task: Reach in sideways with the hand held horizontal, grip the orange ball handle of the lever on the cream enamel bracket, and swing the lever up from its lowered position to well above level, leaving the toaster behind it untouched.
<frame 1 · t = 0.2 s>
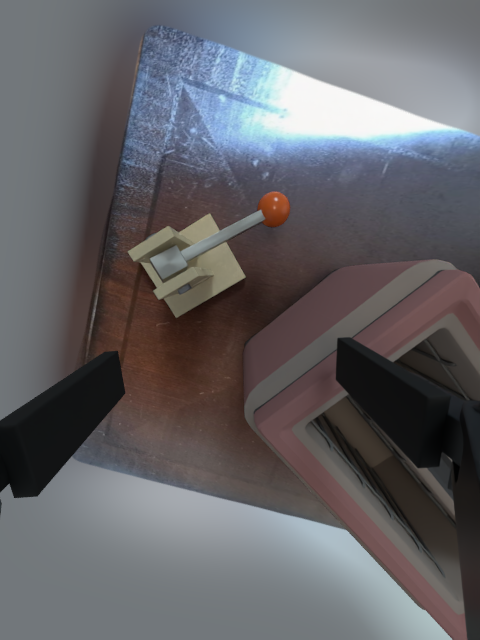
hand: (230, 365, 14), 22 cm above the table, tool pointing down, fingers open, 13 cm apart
lever: (226, 234, 24), point 10 cm above the table, hinge at -20.0°
toaster: (351, 384, 38), on the table
bracket: (193, 268, 34), on the table
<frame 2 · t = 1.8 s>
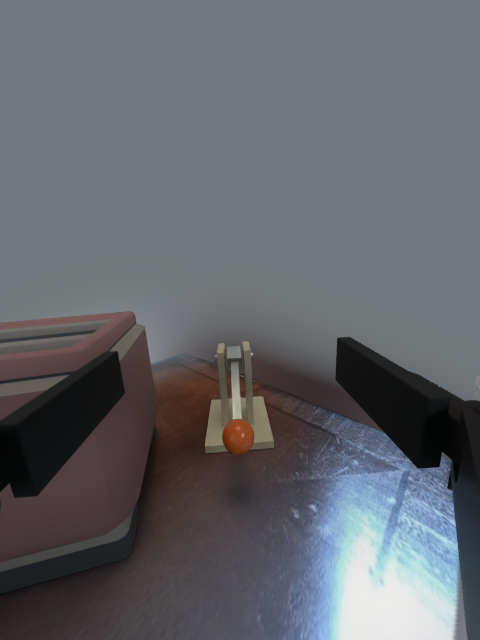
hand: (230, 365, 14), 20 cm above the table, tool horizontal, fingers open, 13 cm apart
lever: (235, 391, 31), point 10 cm above the table, hinge at -20.0°
bracket: (238, 423, 39), on the table
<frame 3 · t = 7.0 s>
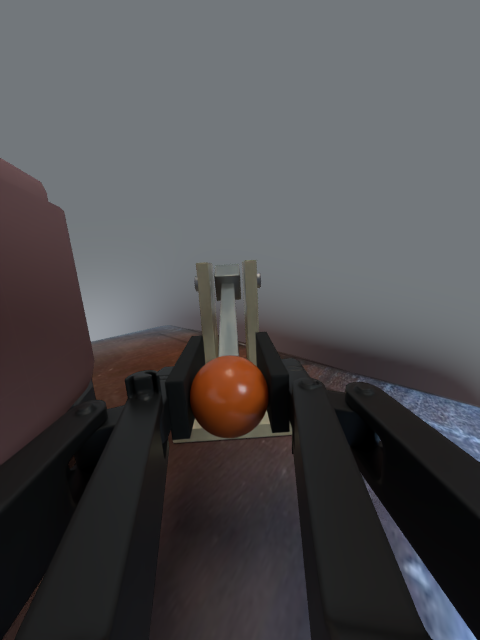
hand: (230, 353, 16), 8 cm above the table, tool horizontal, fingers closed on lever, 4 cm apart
lever: (228, 320, 16), point 10 cm above the table, hinge at -20.0°, touching gripper
bracket: (235, 397, 24), on the table
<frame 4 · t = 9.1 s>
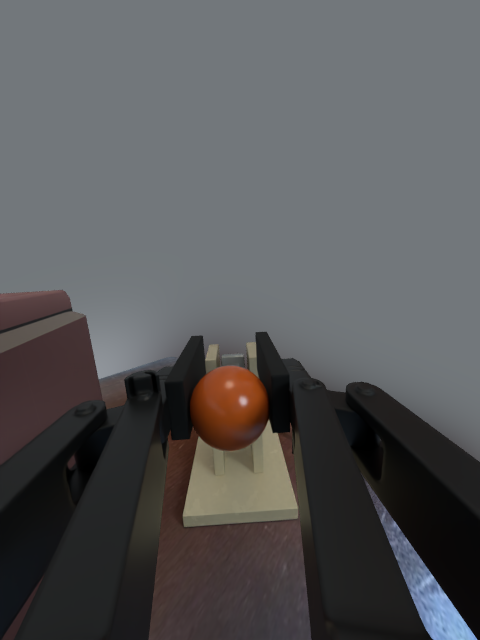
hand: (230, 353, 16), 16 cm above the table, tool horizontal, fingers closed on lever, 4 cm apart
lever: (232, 379, 17), point 14 cm above the table, hinge at 16.4°, touching gripper
bracket: (239, 466, 26), on the table
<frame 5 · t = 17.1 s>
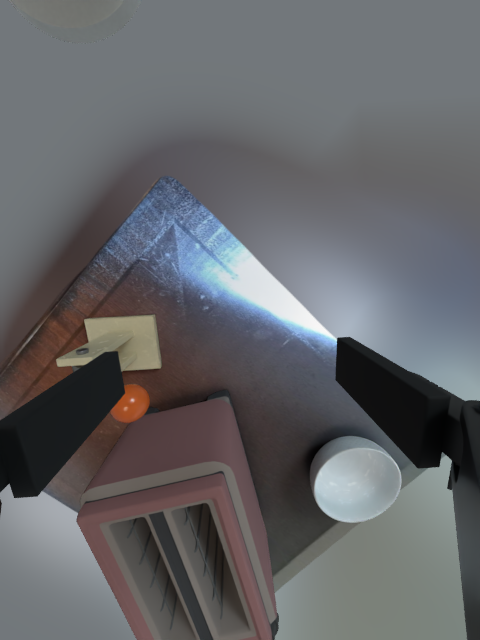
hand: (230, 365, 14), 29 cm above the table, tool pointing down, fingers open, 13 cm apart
lever: (105, 384, 27), point 17 cm above the table, hinge at 42.7°
toaster: (206, 466, 50), on the table
cereal bowl: (340, 456, 50), on the table
bracket: (126, 342, 43), on the table
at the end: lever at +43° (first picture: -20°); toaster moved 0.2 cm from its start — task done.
